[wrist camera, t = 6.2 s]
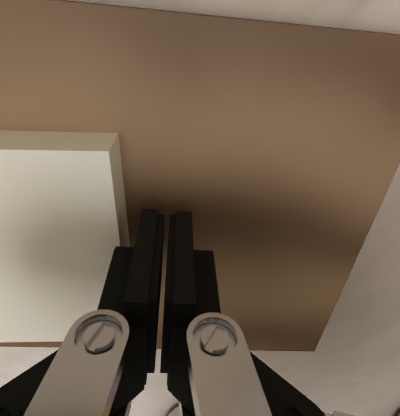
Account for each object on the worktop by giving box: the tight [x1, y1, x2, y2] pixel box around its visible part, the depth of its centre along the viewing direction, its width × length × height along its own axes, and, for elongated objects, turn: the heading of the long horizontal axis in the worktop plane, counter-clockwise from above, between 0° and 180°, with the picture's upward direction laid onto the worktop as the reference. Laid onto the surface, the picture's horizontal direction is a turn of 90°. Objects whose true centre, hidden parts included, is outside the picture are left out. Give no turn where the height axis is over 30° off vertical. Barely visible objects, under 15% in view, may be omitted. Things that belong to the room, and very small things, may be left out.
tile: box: [0, 130, 130, 342], centre depth 11 cm, size 8×7×2 cm
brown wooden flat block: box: [0, 0, 400, 351], centre depth 13 cm, size 14×16×2 cm
